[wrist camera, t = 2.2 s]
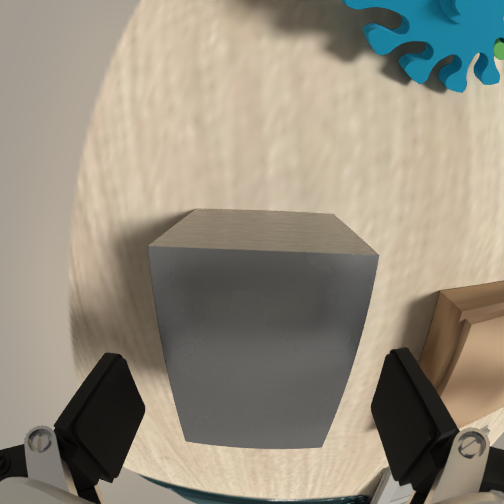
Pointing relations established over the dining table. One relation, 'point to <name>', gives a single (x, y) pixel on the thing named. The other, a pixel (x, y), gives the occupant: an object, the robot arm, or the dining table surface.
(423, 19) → the gear
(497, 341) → the stand
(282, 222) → the grey rectangular block
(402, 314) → the dining table surface
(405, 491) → the grey folded flat piece
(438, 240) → the dining table surface
